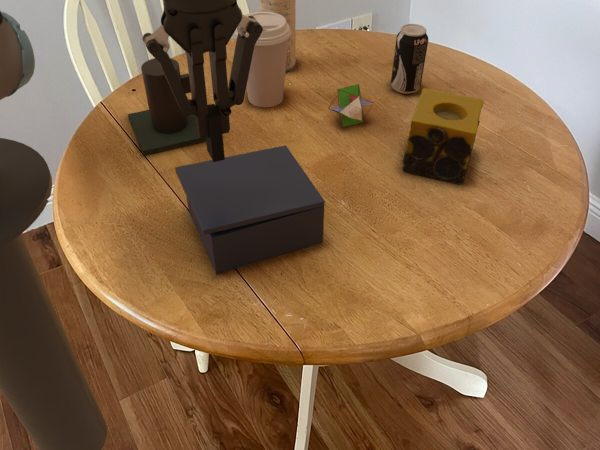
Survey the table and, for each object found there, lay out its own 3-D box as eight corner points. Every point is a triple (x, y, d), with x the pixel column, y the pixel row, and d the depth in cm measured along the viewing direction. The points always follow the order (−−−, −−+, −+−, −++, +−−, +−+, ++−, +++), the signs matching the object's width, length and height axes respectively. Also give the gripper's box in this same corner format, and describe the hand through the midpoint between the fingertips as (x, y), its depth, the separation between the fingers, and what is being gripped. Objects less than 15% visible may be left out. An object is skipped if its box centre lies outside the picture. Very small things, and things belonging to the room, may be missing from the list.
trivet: (128, 118, 104) (127, 113, 104) (194, 104, 108) (193, 100, 107) (143, 156, 96) (142, 151, 96) (213, 139, 100) (212, 134, 99)
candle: (413, 138, 101) (421, 86, 94) (472, 150, 98) (485, 98, 91) (399, 172, 94) (408, 119, 87) (463, 186, 91) (477, 133, 84)
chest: (216, 274, 78) (211, 238, 73) (188, 211, 87) (182, 175, 82) (322, 242, 82) (324, 206, 77) (286, 185, 91) (285, 150, 86)
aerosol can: (302, 64, 119) (303, -38, 106) (279, 76, 116) (278, -27, 102) (277, 53, 123) (275, -47, 109) (254, 65, 119) (249, -37, 105)
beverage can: (392, 79, 115) (400, 20, 107) (421, 83, 114) (431, 24, 106) (387, 93, 111) (395, 33, 103) (418, 98, 110) (428, 38, 102)
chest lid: (203, 235, 72) (203, 230, 71) (175, 172, 81) (175, 167, 80) (324, 206, 77) (325, 201, 77) (285, 149, 86) (285, 144, 86)
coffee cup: (232, 106, 107) (225, 28, 97) (251, 81, 114) (247, 6, 104) (281, 116, 105) (279, 37, 95) (298, 90, 112) (298, 13, 102)
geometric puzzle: (319, 100, 105) (333, 81, 98) (352, 92, 107) (368, 72, 100) (333, 137, 104) (348, 120, 97) (366, 128, 107) (384, 111, 99)
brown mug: (157, 137, 99) (145, 78, 91) (149, 118, 103) (137, 61, 95) (199, 127, 101) (192, 69, 93) (190, 109, 105) (182, 53, 97)
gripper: (246, -59, 62) (254, 128, 78) (122, -44, 58) (157, 149, 74) (272, -34, 57) (275, 159, 73) (138, -16, 53) (172, 185, 69)
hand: (215, 154), depth 74 cm, fingers closed
